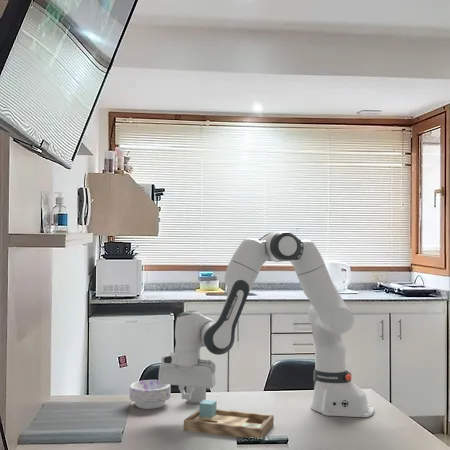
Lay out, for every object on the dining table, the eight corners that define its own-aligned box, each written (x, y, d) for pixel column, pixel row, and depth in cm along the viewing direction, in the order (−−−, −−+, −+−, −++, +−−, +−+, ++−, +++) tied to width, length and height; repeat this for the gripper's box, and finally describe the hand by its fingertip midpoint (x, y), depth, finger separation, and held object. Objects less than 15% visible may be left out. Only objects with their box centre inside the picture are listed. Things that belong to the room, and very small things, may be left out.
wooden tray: (273, 425, 186) (273, 415, 186) (261, 439, 172) (261, 429, 172) (201, 417, 195) (201, 407, 195) (183, 430, 181) (183, 420, 181)
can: (203, 404, 210) (203, 372, 210) (184, 403, 211) (184, 371, 212) (207, 399, 217) (208, 368, 218) (189, 398, 219) (189, 367, 219)
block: (216, 414, 191) (216, 400, 191) (211, 418, 187) (211, 404, 187) (204, 412, 193) (204, 399, 193) (199, 416, 189) (199, 403, 189)
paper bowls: (130, 413, 199) (131, 390, 200) (128, 401, 214) (128, 380, 214) (173, 410, 203) (173, 388, 203) (167, 399, 218) (167, 378, 218)
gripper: (218, 359, 193) (217, 399, 192) (164, 354, 199) (163, 393, 199) (212, 362, 187) (211, 404, 186) (156, 357, 193) (156, 398, 193)
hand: (186, 398), depth 193 cm, fingers closed
